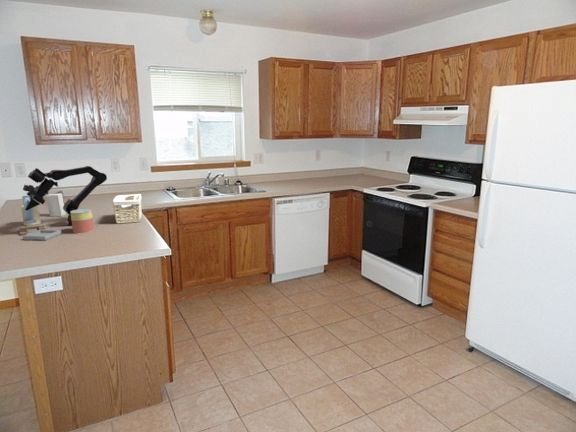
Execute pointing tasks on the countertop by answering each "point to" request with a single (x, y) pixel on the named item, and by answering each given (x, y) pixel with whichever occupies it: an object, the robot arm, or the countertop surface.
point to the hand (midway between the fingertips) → (25, 209)
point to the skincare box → (55, 204)
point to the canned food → (82, 220)
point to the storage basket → (127, 208)
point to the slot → (23, 230)
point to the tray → (42, 235)
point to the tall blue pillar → (28, 211)
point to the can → (35, 215)
